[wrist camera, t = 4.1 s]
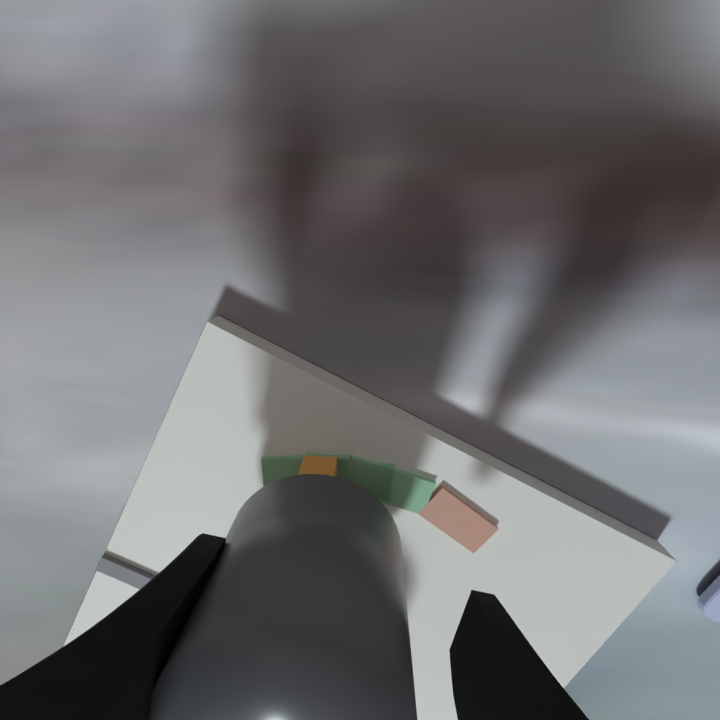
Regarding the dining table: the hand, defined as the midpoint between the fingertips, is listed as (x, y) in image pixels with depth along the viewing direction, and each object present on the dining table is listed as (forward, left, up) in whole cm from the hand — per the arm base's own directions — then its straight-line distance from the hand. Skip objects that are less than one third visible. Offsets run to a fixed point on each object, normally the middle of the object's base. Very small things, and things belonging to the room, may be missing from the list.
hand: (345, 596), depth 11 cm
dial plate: (-2, +6, -4) cm, 8 cm away
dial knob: (0, +3, -3) cm, 4 cm away
